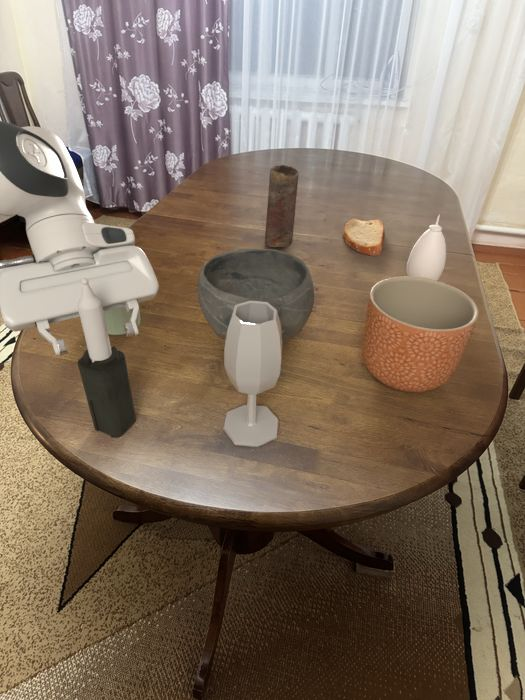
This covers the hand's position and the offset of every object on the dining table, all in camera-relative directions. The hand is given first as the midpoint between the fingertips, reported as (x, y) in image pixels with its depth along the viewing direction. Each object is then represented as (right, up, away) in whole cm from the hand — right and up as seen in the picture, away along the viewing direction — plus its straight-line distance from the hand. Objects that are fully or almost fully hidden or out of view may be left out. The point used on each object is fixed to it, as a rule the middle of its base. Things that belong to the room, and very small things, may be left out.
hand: (98, 344), depth 63 cm
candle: (-1, -12, +9) cm, 15 cm away
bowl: (+21, +2, +29) cm, 35 cm away
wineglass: (+20, -13, +9) cm, 26 cm away
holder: (-6, +5, +31) cm, 32 cm away
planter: (+47, -5, +21) cm, 52 cm away
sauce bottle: (+59, +14, +47) cm, 77 cm away
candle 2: (+27, +28, +64) cm, 74 cm away
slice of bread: (+52, +31, +69) cm, 92 cm away
